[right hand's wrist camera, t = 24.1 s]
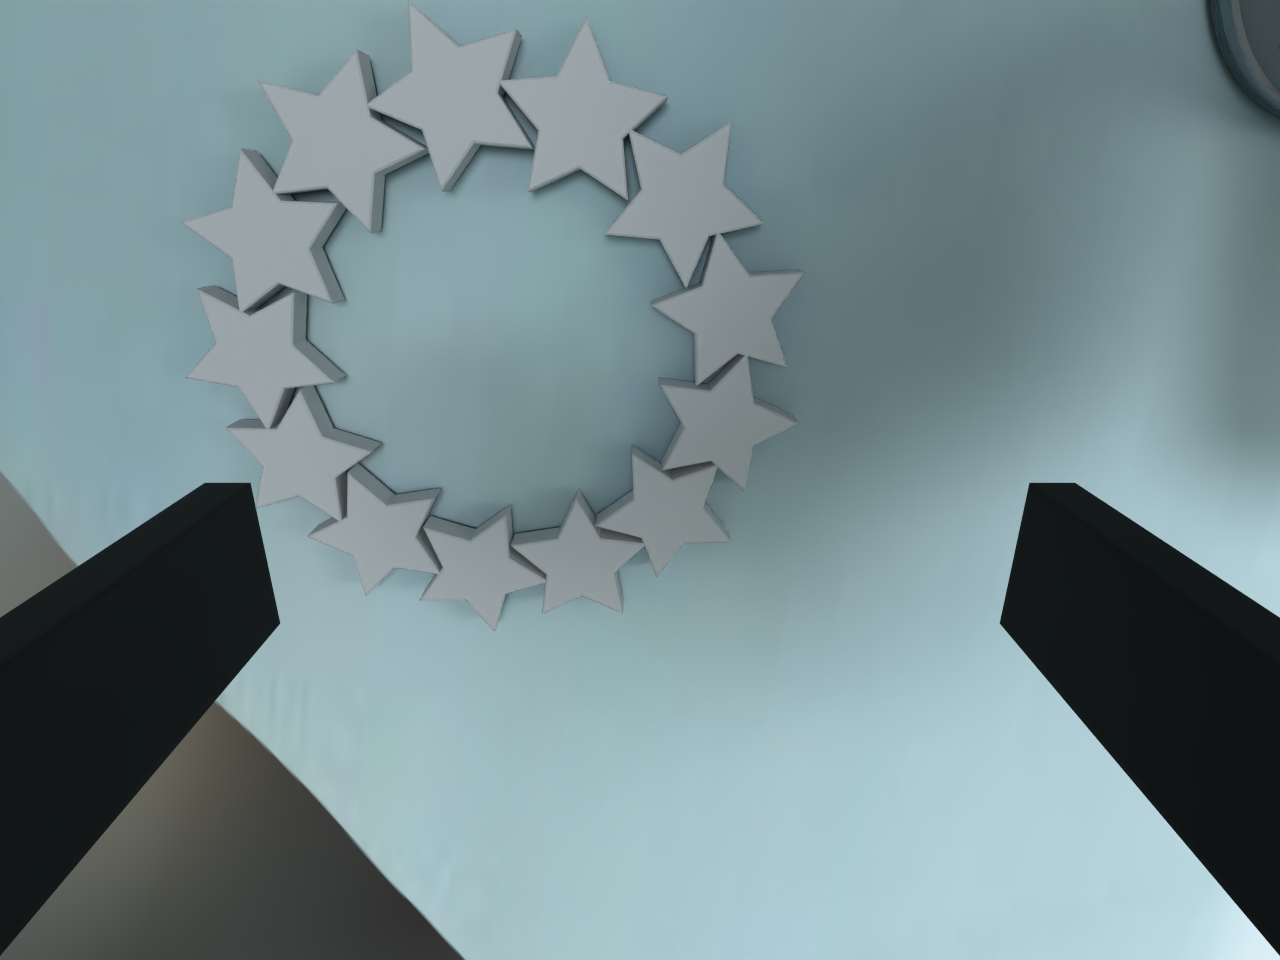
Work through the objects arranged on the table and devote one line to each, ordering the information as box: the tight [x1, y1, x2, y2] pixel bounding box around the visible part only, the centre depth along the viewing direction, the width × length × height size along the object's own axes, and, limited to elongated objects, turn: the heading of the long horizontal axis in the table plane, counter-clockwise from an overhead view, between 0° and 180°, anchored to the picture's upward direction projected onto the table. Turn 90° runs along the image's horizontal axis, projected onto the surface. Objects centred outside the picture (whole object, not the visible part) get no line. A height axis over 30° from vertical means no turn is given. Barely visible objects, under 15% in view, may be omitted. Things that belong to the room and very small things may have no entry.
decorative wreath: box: [181, 1, 805, 631], centre depth 35 cm, size 30×2×30 cm
